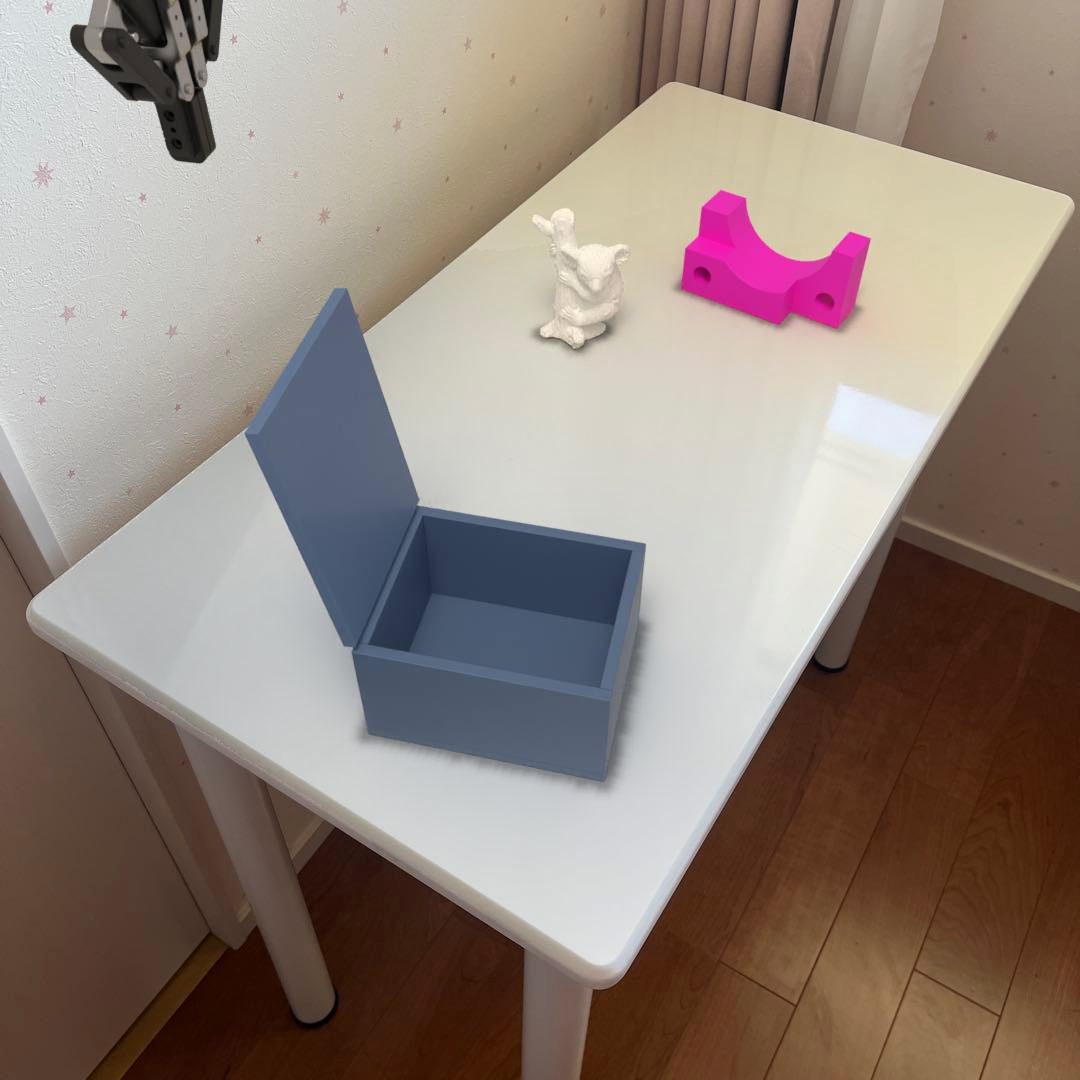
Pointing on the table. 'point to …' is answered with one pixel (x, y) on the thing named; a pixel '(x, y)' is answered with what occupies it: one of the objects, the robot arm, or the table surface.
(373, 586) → the box lid
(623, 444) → the table surface
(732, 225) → the magenta pillow block
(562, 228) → the koala figurine
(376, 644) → the blue box
